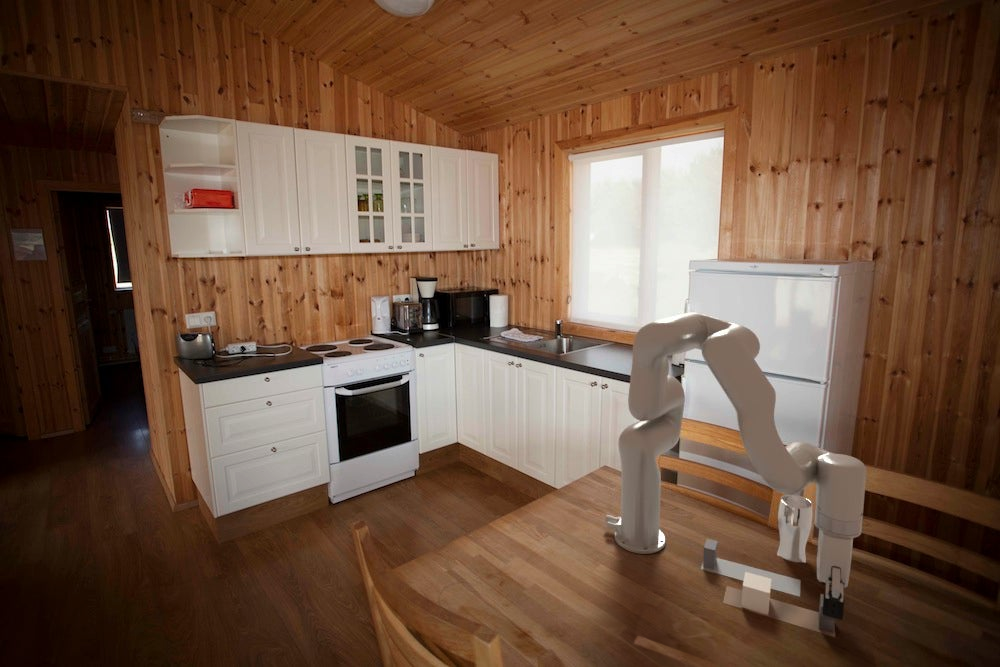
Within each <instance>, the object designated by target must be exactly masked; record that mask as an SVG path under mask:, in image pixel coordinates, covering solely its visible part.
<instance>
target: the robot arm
mask: <svg viewBox="0 0 1000 667" xmlns="http://www.w3.org/2000/svg"><path fill="white" fill-rule="evenodd" d="M695 349H697V350H700V351H701V355H702V357H703V360H704V362H705V364H706V365H707V367H708V369H709V370H710V371H711V373H712V375H713V377H714V378H715V379H716V381H717V383H718V384H719V386H720V387H721V389H722V391H723V392H724V394H725V395H726V397H727V398H728V400H729V401H730V403H731V405H732V406H733V408H734V410H735V414H736V419H737V420H736V421H737V426H738V430H739V434H740V438H741V442H742V445H743V448H744V450H745V452H746V454H747V457H748V458H749V460H750V461H751V464H752V465H753V466H754V468H755V469H756V471H757V472H758V474H759V476H760V477H761V478H762V480H763V481H764V482H765V483H766V484H767V486H769V487H770V488H771V489H772V490H774V491H775V492H776V493H779V494H782V495H797V494H798V493H801V492H802V491H803V490H805V488H806V487H808V485H809V484H813V483H814V484H815V485H816V492H815V507H814V522H813V523H814V526H815V527H816V528H817V529H819V530H818V541H817V553H816V580H818V582H820V583H821V584H822V585H823V586H825V594H823V595H824V598H823V611H822V612H823V615H825V616H828V617H832V618H835V620H836V619H837V620H840V621H841V620H844V610H845V606H844V605H845V599H844V589H845V588H847V587H848V586H849V582H850V581H849V580H850V574H851V567H852V566H851V565H852V564H851V563H852V556H853V545H854V544H853V542H854V538H858V537H860V536H861V534H862V528H863V527H862V526H863V517H864V516H863V515H864V504H865V492H866V480H867V468H866V465H865V464H864V463H863V462H862V461H861V460H860V459H858V458H856V457H854V456H851V455H847V454H842V453H834V452H831V451H828V450H827V449H824V448H822V447H820V446H817V445H813V444H811V443H809V442H805V441H793V442H790V443H788V444H787V445H784V443H783V441H782V439H781V437H780V435H779V433H778V430H777V427H776V422H775V408H776V398H777V395H776V390H775V387H774V386H773V385H772V384H771V382H770V380H769V379H768V378H767V376H766V375H765V373H764V371H763V370H762V369H761V367H760V366H759V364H758V363H757V361H756V360H755V359H756V358H757V356H758V355H759V353H760V350H761V344H760V340H759V338H758V336H757V335H756V334H755V332H753V330H751V329H750V328H747V327H745V326H744V325H741V324H738V323H735V322H731V321H727V320H725V319H721V318H717V317H714V316H710V315H707V314H703V313H700V312H687V313H682V314H679V315H675V316H674V315H673V316H669V317H665V318H662V319H661V318H660V319H658V320H655V321H652V322H649V323H647V324H645V325H644V326H642V327H641V328H640V329H639V330H638V331H637V332H636V334H635V337H634V338H633V343H632V363H631V370H630V380H629V388H628V389H629V390H628V399H627V407H628V411H629V412H630V415H631V416H632V417H633V418H634V419H635V420H638V421H636V422H634V423H631V424H630V425H628V426H627V427H626V428H624V430H622V432H621V433H620V434H619V437H618V440H617V445H618V454H619V457H620V467H621V468H620V470H621V481H620V482H621V490H620V491H621V493H620V494H621V495H620V496H621V498H620V499H621V500H620V501H621V503H620V505H621V506H620V516H618V517H615V516H613V515H611V514H606V516H605V523H606V527H607V528H611V529H615V531H614V540H615V542H616V543H617V545H618V546H620V547H621V548H622V549H623V550H626V551H629V552H632V553H634V554H639V555H640V554H641V555H642V554H643V555H645V554H646V555H648V554H655V553H657V552H660V551H661V550H662V549H663V548H664V547H665V546H666V536H665V534H664V533H663V532H662V531H661V530H660V520H661V519H660V517H661V516H660V515H661V487H662V485H661V484H662V482H661V481H662V480H661V479H662V478H661V470H660V468H659V465H658V462H657V459H658V458H659V457H660V456H661V455H663V454H665V453H666V452H668V451H670V450H671V449H673V448H674V447H676V445H677V444H678V442H679V440H680V438H681V431H682V427H683V426H682V425H683V418H684V411H685V403H686V395H685V390H684V387H683V386H682V383H681V381H680V380H679V379H677V378H676V377H675V376H673V375H670V374H669V373H670V372H669V371H670V365H669V359H668V357H669V356H670V357H671V356H674V355H679V354H683V353H686V352H689V351H692V350H695ZM830 587H831V589H830Z"/></svg>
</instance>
